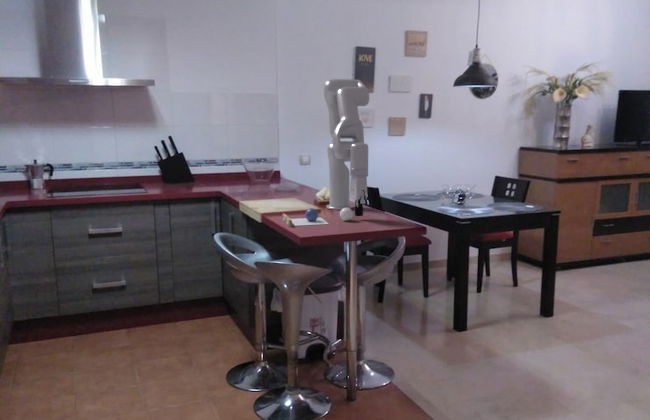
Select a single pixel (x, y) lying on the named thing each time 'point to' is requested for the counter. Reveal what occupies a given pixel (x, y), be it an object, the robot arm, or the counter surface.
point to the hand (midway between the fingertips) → (358, 215)
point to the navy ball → (311, 214)
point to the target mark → (308, 222)
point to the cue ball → (346, 214)
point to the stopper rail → (287, 220)
